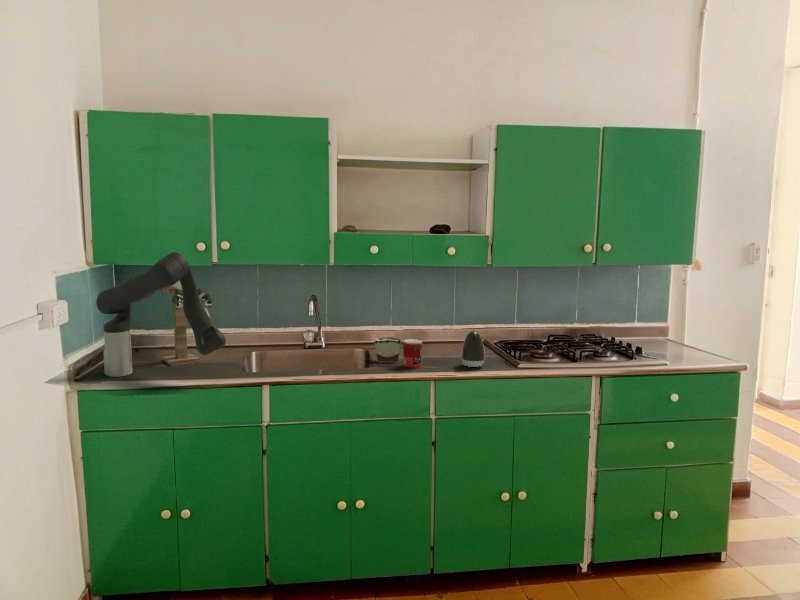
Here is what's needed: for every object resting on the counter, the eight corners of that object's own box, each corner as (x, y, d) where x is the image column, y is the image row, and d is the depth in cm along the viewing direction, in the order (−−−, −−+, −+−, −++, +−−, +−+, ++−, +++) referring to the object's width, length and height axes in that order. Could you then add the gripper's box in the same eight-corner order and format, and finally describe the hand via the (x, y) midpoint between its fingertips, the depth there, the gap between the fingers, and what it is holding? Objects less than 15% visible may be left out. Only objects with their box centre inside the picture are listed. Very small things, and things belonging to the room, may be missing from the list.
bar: (192, 290, 232) (191, 281, 231) (183, 290, 230) (182, 281, 229) (178, 285, 249) (177, 277, 248) (169, 285, 247) (169, 277, 246)
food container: (401, 358, 254) (401, 336, 253) (401, 362, 248) (402, 339, 247) (373, 358, 254) (373, 336, 252) (373, 362, 248) (373, 339, 246)
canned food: (416, 369, 235) (416, 343, 234) (399, 366, 239) (399, 341, 238) (425, 365, 242) (425, 340, 240) (408, 363, 246) (409, 338, 244)
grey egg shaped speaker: (461, 369, 236) (462, 333, 234) (459, 363, 246) (460, 328, 244) (486, 369, 236) (487, 333, 234) (483, 363, 246) (484, 329, 244)
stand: (199, 362, 244) (197, 287, 240) (170, 365, 237) (167, 289, 233) (191, 356, 254) (189, 285, 250) (163, 360, 247) (160, 286, 243)
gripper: (218, 305, 222) (206, 282, 233) (180, 308, 214) (170, 283, 224) (215, 321, 226) (204, 296, 237) (178, 324, 218) (168, 299, 228)
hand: (187, 290), depth 231 cm, fingers open, 8 cm apart
